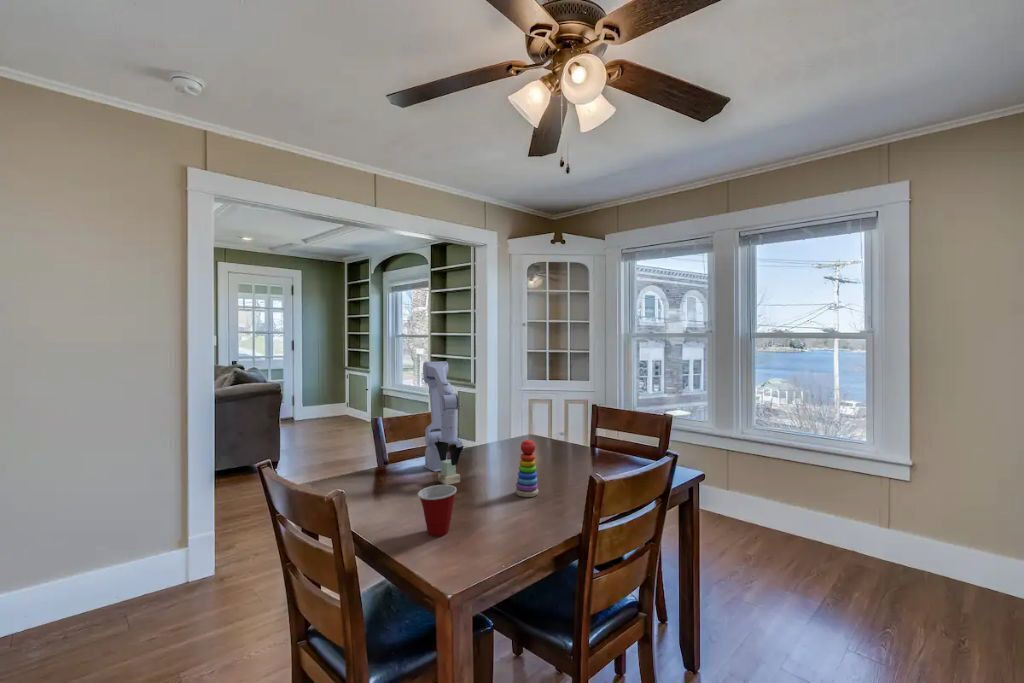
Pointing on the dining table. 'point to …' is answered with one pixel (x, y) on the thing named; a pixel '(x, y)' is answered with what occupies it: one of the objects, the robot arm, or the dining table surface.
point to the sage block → (447, 468)
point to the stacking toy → (527, 471)
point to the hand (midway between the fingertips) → (448, 462)
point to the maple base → (449, 479)
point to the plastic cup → (437, 508)
